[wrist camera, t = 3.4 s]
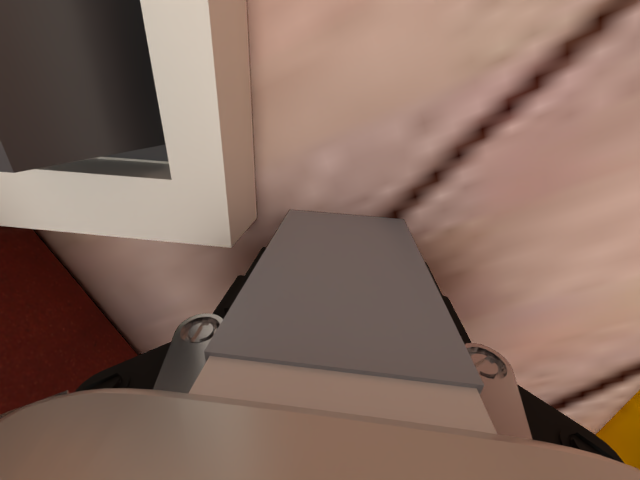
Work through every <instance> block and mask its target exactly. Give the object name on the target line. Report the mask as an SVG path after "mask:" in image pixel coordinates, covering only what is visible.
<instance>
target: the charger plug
mask: <svg viewBox="0 0 640 480" xmlns="http://www.w3.org/2000/svg"><path fill="white" fill-rule="evenodd" d="M204 355H205V360H206V363H205V365H204V367H203V369H202V370H201V372H200V374H199V376H198V377H197V379H196V381H195V383H194V384H193V386H192V388H191V390H190V391H189V393H190V394H199V395H208V396H216V397H224V398H232V399H240V400H248V401H256V402H263V403H271V404H279V405H287V406H295V407H302V408H310V409H318V410H325V411H333V412H341V413H348V414H356V415H363V416H371V417H378V418H386V419H393V420H400V421H408V422H415V423H422V424H429V425H437V426H444V427H451V428H458V429H466V430H473V431H480V432H486V433H493V434H497V432H496V430H495V428H494V426H493V424H492V421H491V419H490V417H489V415H488V412H487V410H486V408H485V406H484V404H483V401H482V399H481V397H480V394H481V391H482V389H483V387H484V384H483V381H482V379H481V377H480V375H479V373H478V371H477V369H476V367H475V365H474V363H473V361H472V359H471V357H470V355H469V353H468V351H467V349H466V346H465V344H464V342H463V340H462V338H461V336H460V334H459V332H458V330H457V328H456V326H455V324H454V322H453V320H452V318H451V316H450V314H449V311H448V309H447V307H446V305H445V303H444V301H443V299H442V297H441V295H440V293H439V291H438V289H437V287H436V285H435V283H434V281H433V278H432V276H431V274H430V272H429V270H428V268H427V266H426V264H425V262H424V260H423V258H422V256H421V254H420V252H419V250H418V248H417V246H416V243H415V241H414V239H413V237H412V235H411V233H410V231H409V229H408V227H407V225H406V223H405V221H404V219H396V218H384V217H372V216H360V215H348V214H336V213H324V212H312V211H300V210H289V212H288V213H287V215H286V216H285V218H284V220H283V221H282V223H281V225H280V226H279V228H278V230H277V231H276V233H275V235H274V236H273V238H272V240H271V241H270V243H269V245H268V246H267V248H266V250H265V251H264V253H263V254H262V256H261V258H260V259H259V261H258V263H257V264H256V266H255V268H254V269H253V271H252V273H251V274H250V276H249V278H248V279H247V281H246V283H245V284H244V286H243V287H242V289H241V291H240V292H239V294H238V296H237V297H236V299H235V301H234V302H233V304H232V306H231V307H230V309H229V311H228V312H227V314H226V316H225V317H224V319H223V321H222V322H221V324H220V325H219V327H218V329H217V330H216V332H215V334H214V335H213V337H212V339H211V340H210V342H209V344H208V345H207V347H206V349H205V350H204Z"/></svg>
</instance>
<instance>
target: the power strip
mask: <svg viewBox="0 0 640 480" xmlns="http://www.w3.org/2000/svg"><path fill="white" fill-rule="evenodd" d="M256 219H257V209H256V187H255V166H254V145H253V124H252V103H251V82H250V61H249V40H248V19H247V0H0V226H8V227H18V228H29V229H39V230H50V231H60V232H71V233H81V234H92V235H102V236H113V237H123V238H134V239H144V240H155V241H165V242H176V243H186V244H197V245H207V246H218V247H228V248H232V247H233V245H234V244H235V243H236V242H237V241H238V240H239V238H240V237H241V236H242V235H243V234H244V233H245V232H246V230H247V229H248V228H249V227H250V226H251V225H252V223H253V222H254V221H255V220H256Z"/></svg>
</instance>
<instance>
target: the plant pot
mask: <svg viewBox="0 0 640 480" xmlns="http://www.w3.org/2000/svg"><path fill="white" fill-rule="evenodd" d="M136 356H138V355H137V354H136V353H135V351H134V350H133V349H132V348H131V347H130V345H129V344H128V343H127V342H126V341H125V339H124V338H123V337H122V336H121V335H120V334H119V332H118V331H117V330H116V329H115V328H114V326H113V325H112V324H111V323H110V322H109V321H108V319H107V318H106V317H105V316H104V315H103V314H102V312H101V311H100V310H99V309H98V307H97V306H96V305H95V304H94V303H93V301H92V300H91V299H90V298H89V296H88V295H87V294H86V293H85V292H84V290H83V289H82V288H81V287H80V285H79V284H78V283H77V282H76V281H75V280H74V278H73V277H72V276H71V275H70V274H69V272H68V271H67V270H66V269H65V268H64V267H63V265H62V264H61V263H60V262H59V261H58V259H57V258H56V257H55V256H54V255H53V254H52V252H51V251H50V250H49V249H48V248H47V246H46V245H45V244H44V243H43V242H42V240H41V239H40V238H39V237H38V236H37V234H36V233H35V232H34V231H33V230H32V229H29V228H18V227H8V226H0V414H3V413H6V412H8V411H11V410H14V409H17V408H19V407H22V406H25V405H28V404H30V403H33V402H36V401H39V400H41V399H44V398H47V397H50V396H52V395H55V394H58V393H61V392H64V391H66V390H68V392H69V393H73V392H75V391H76V389H77V388H78V387H79V386H80V385H81V384H82V383H83V382H84V381H86V380H87V379H88V378H90V377H91V376H93V375H95V374H97V373H98V372H100V371H102V370H105V369H107V368H110V367H112V366H114V365H117V364H119V363H122V362H124V361H126V360H129V359H131V358H134V357H136Z"/></svg>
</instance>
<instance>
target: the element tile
mask: <svg viewBox="0 0 640 480" xmlns="http://www.w3.org/2000/svg"><path fill="white" fill-rule="evenodd" d="M596 436H597V437H599V438H600V439H602V440H603V441H604V442H606V443H607V444H608V445H609V446H610V447H611V448H612V449H613V450H614V451H615V452H616V453H617V454H618V456H619V457H620V458H621V459H622V461H623V462H624V463H625V464H627V465H630V466H632V467H636V468H638V469H639V470H640V390H639V391H638V392H637V393H636V394H635V395H634V396H633V397H632V398H631V399H630V400H629V401H628V402H627V403H626V404H625V405H624V406H623V407H622V408H621V409H620V411H619V412H618V413H617V414H616V415H615V416H614V417H613V418H612V419H611V420H610V421H609V422H608V423H607V424H606V425H605V426H604V427H603V428H602V429H601V430H600V431H599V432H598V433H597V434H596Z"/></svg>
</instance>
